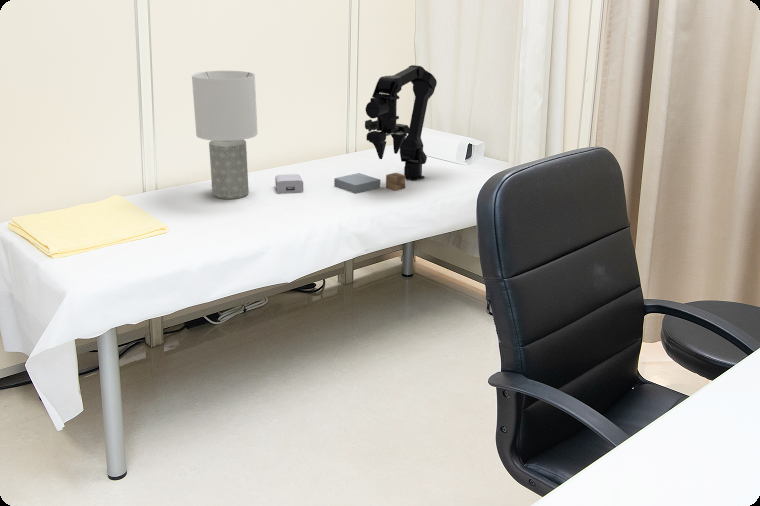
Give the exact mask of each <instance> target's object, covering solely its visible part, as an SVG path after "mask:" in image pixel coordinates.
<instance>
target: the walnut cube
mask: <svg viewBox="0 0 760 506" xmlns="http://www.w3.org/2000/svg"><path fill="white" fill-rule="evenodd" d="M385 188H386V189H388V190H391V191H395V192H396V191H399V190H404V189H406V178H405V175H404V174H402V173H398V172H392V173H389V174H386V175H385Z"/></svg>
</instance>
